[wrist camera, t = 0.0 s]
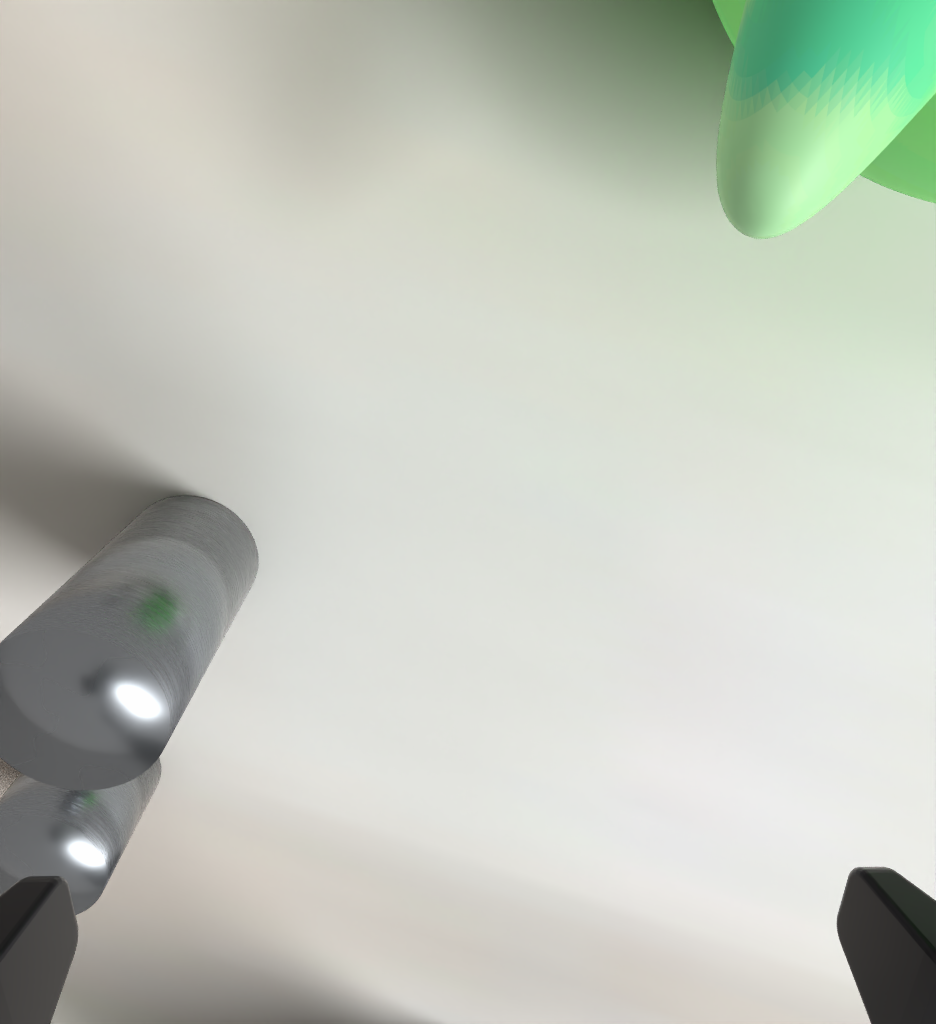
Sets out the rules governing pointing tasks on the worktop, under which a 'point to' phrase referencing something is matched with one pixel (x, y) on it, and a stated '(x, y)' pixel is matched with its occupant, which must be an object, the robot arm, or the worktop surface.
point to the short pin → (70, 832)
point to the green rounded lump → (824, 106)
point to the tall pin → (123, 646)
